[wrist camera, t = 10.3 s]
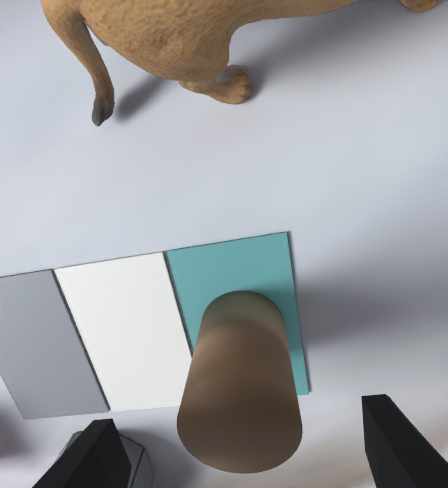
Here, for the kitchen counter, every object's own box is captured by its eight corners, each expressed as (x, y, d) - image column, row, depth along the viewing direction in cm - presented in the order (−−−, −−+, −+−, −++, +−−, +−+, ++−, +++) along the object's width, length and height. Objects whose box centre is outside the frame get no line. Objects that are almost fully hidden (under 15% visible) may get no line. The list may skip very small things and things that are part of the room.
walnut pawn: (210, 364, 15) (191, 476, 10) (193, 295, 14) (163, 386, 9) (289, 357, 14) (307, 470, 10) (279, 285, 13) (295, 374, 8)
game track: (25, 417, 17) (24, 419, 17) (-46, 284, 14) (-48, 285, 14) (308, 392, 15) (308, 394, 15) (286, 232, 12) (286, 232, 12)
